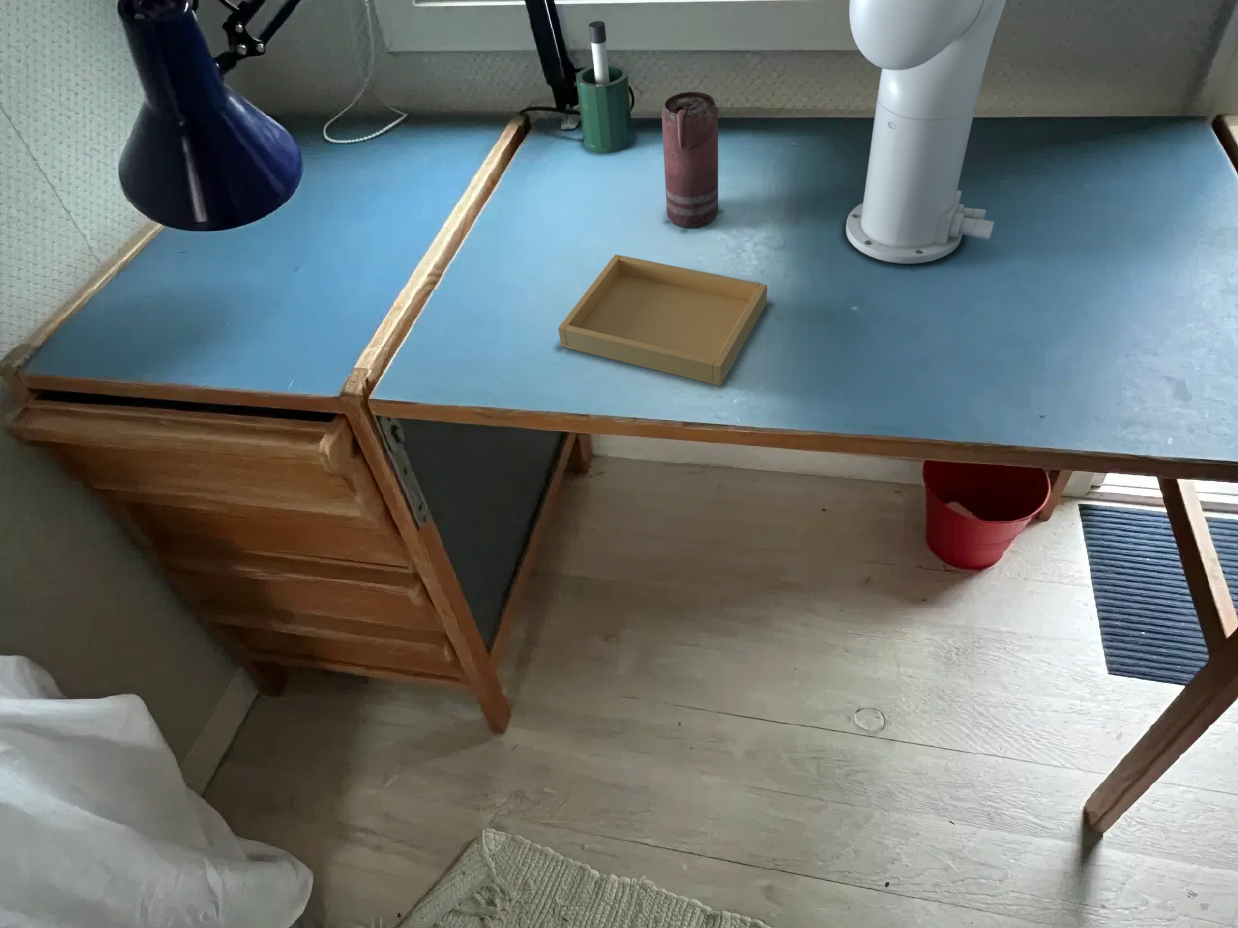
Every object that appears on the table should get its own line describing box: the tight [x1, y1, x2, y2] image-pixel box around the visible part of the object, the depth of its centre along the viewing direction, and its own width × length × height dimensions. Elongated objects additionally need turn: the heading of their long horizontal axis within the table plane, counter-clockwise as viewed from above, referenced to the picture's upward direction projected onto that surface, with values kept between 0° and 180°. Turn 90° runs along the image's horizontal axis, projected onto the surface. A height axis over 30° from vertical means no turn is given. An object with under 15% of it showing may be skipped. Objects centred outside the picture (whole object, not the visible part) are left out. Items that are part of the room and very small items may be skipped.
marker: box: [588, 20, 610, 85], centre depth 113 cm, size 2×2×14 cm
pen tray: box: [557, 253, 768, 387], centre depth 90 cm, size 18×14×2 cm
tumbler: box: [575, 63, 633, 154], centre depth 116 cm, size 7×7×9 cm
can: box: [661, 91, 719, 230], centre depth 100 cm, size 6×6×14 cm
